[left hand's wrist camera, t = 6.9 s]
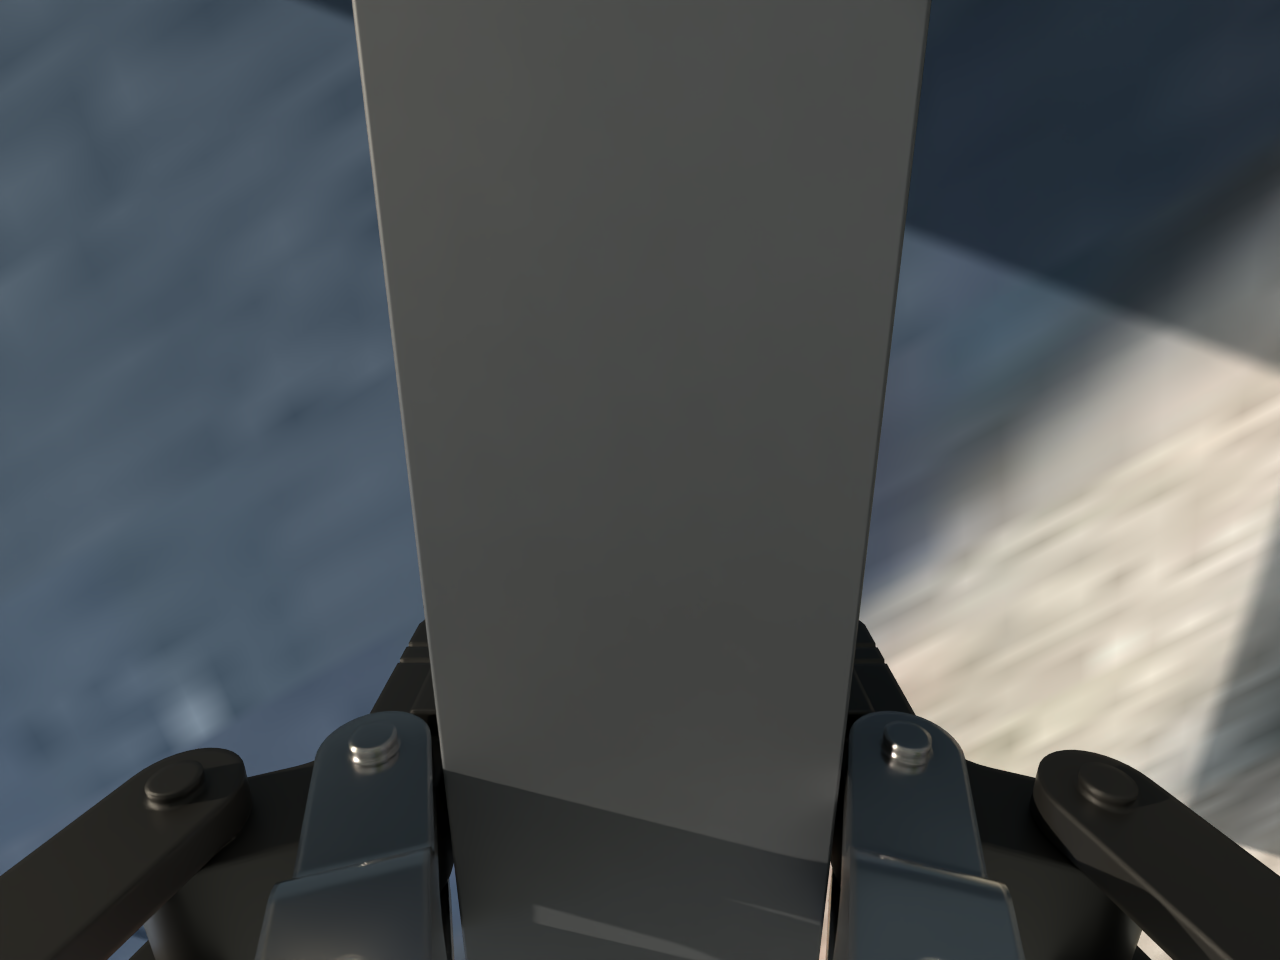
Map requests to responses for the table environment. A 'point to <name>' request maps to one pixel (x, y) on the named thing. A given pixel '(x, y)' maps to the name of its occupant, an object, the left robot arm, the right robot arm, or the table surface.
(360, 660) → the table surface
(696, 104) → the bar
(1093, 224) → the table surface
